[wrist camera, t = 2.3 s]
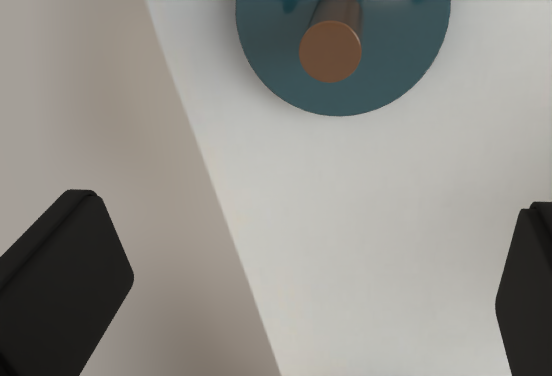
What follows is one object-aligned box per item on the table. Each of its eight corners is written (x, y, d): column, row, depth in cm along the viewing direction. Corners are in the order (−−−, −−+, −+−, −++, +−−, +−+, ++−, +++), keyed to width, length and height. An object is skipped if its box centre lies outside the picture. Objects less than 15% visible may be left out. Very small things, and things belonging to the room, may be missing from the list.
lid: (256, 109, 25) (229, 162, 20) (224, -93, 19) (178, -81, 15) (437, 104, 23) (452, 162, 18) (460, -125, 17) (489, -123, 13)
